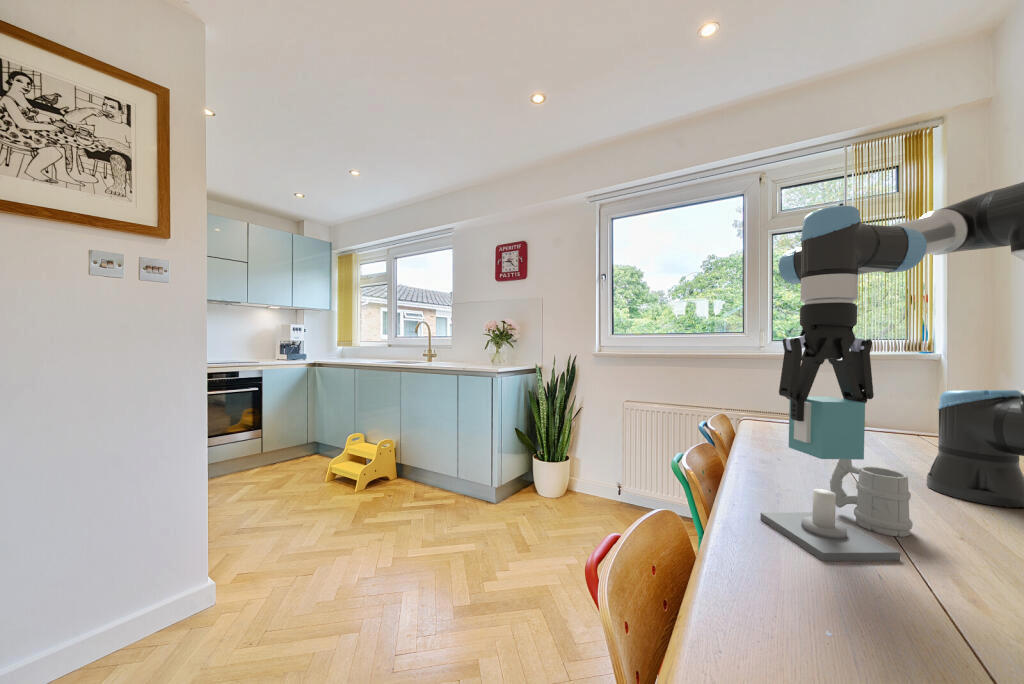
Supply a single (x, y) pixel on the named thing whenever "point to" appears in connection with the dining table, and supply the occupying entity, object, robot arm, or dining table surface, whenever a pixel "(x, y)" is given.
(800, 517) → the post board
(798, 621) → the dining table surface
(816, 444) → the teal block
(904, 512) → the mug
